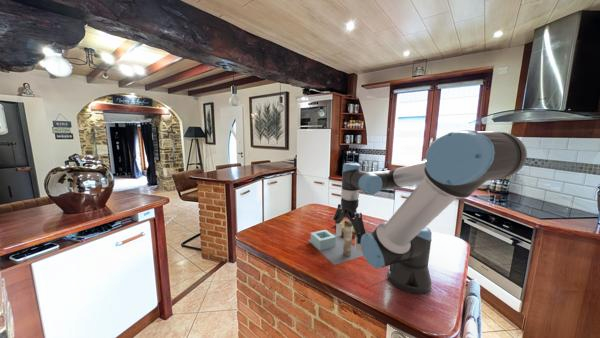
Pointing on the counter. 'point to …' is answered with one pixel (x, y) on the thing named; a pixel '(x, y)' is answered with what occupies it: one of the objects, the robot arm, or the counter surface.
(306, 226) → the counter surface
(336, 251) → the mat
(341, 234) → the carton
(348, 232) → the tan wooden dowel
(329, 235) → the rectangular frame
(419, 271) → the robot arm
